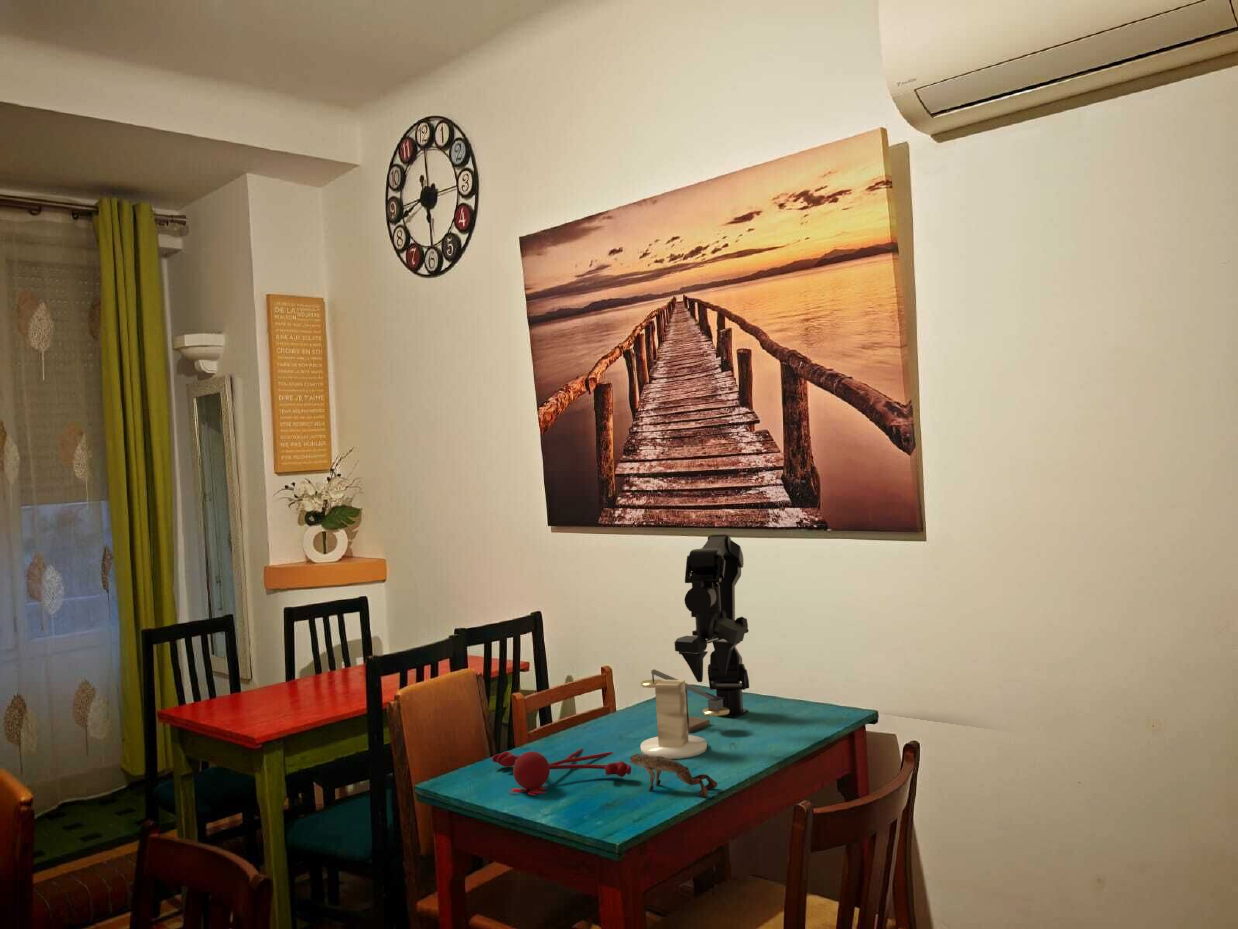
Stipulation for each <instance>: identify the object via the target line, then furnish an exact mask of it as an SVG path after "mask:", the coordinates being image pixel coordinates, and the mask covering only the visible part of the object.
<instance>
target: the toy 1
mask: <svg viewBox="0 0 1238 929" xmlns="http://www.w3.org/2000/svg"><path fill="white" fill-rule="evenodd" d="M583 751H584V748H580V749H578V750H576V751H574V752H572V753H571V754H570V755H568V756H567V757H566V758H565V759H564V758H563V759H561V760H558V761H554V762H551V763H549V761H548V759H547V758H546V757H545V756H544V755H543V754H542V753H540V752H537V751H526V752H524V753H522V754H520V755H515V754H512V753H511V752H509V751H503V752H502V753H496V754H494V755H493V756H492V762H493V763H498V764H499V765H501V766H502V767H513V769H512V774H513V778H514V780H515V782H516V783H517V784H518V785H519V786H520V787H522V788H516V787H515V788H514V787H513V788H511V789H512V790H508V792H509V793H515V794H516V793H522V792H523V793H524V792H528V793H527V794H528V795H530V796H535V795H540V794H546V793H547V792H546V791H543V790H546V789H548V787H546V786H544V785H545V784H546V782H547V781H548V778H549V777H550V770H567V769H569V770H570V769H571V770H572V769H573V770H575V769H582V770H585V769H593V770H594V769H595V770H596V769H597V770H604V773H605V775H607V776H610V775H612V776H613V775H617V776H619V777H621V778H624V777H625V775H631V773H632V766H631V765H630V764H628V763H626V762H625V761H618V762H609V763H607V764H597V763H595V764H593V763H591V764H590V763H589V764H585V763H584V764H582V763H581V764H569V763H577V762H583V761H588V760H594V759H600V758H603V757H607V756H609V754H610V755H612V754H614V753H613V752H612V751H608V752H602V753H596V754H590V755H585V756H578V755H579V754H581V753H582V752H583ZM576 756H578V757H576ZM528 790H529V791H528Z"/></svg>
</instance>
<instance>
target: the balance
mask: <svg viewBox="0 0 1238 929" xmlns="http://www.w3.org/2000/svg"><path fill="white" fill-rule="evenodd" d="M651 674H652V675H651V676H652V678H651V679H645V680H642V681H641V682H640V687H642V688H648V689H650V688H654V689H655V684H657V683H658V682H660V681H661V680H679V679H678V678H676V677H673V676H671V675H669V674H666V673H664V672H662V671H660V670H658V669H651ZM655 676H656V677H658V679H657V678H655ZM688 691H690V692H693V693H695V694H697V695H700V696H701V697H703V698H706V699H708V700H707V705H708V706H707V707H706V708H704V709H702V715H704V716H708V717H724V716H723V715H727V714H729V709H728V708H725V707H723V699H720V698H717V696H716V695H714V694H712V693H709V692H707V691H705V690H703V689H700V688H698V687H695V686H693V685H691V684H689V683H687V682H685V692H686V708H687V725H688V734H690V733H693V732H695V731H698V730H699V729H702V728H704V727H707V726H710V725H711V719H710V718H704V717H699V716H698V717H697V716H696V717H695V716H690V715H689V702H688Z"/></svg>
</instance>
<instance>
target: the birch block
mask: <svg viewBox="0 0 1238 929" xmlns="http://www.w3.org/2000/svg"><path fill="white" fill-rule="evenodd" d="M660 680H661V681H660V682H658V683H657V684H655V688H654V691H655V692H654V693H655V694H654V695H655V708H656V709H655V710H656V723H657V726H656V727H657V737H658V744H659V746H662V747H682V746H683V745H684V744H686V743H687V742H688V735H689V733H688V725H687V708H686V692H685V683H686V679H685V680H684V679H678V680H665V679H660Z"/></svg>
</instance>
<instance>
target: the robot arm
mask: <svg viewBox="0 0 1238 929" xmlns="http://www.w3.org/2000/svg"><path fill="white" fill-rule="evenodd" d="M742 568H744V554H743V551H742V548H741V546H740V545H739V543H736V542H735V541H733V540H732V538H731V536H730V535H729V534H726V533H720V534H719V533H718V534H711V535H708V537H707V541H706V542H705V544H704V545H703V546H702V547H701V548H694V549H692V550H691V551H690V552H689V554H688V555H687V556H686V565H685V572H684V573H685V574H684V575H685V576H684V583H685V584H691V588H690V589H689V590H687V592H686V594H685V596H684V605H685V607H686V609H687V610H688V611H689V612H690V616H691V617H690V618H695V619H694V620H695V630H692V631H691V632H692V635H684V636H681V637H677V638H676V639H675V641H674V642H673V643H674V651H675V652H678V654H679V655H681V656H682V658H683V659H684V661H685V662H686V664H687V665H688V667H689V669H690V671H691V672H692V674H693V676H694V678H695V680H696V683H697V682H698V683H703V679H704V658H705V657H706V656H707V654H708V652H709V651H707V647H708V644H711V643H712V645H713V649H714V650H713V651H711V653H710V655H709V663H708V664H707V676H708V677H707V678H708V685H709V690H710V691H711V690H712V691H713V690H715V691H716V692H715V693H716V695H715V696H717V698H720V699H723V707H725V708H728V709H729V714H727V715H723V716H722V717H726V718H737V717H740V716H742V715H744V714H746V713H749V712H750V711H749V709H748V708H747V709H746V708H744V705H743V704H744V703H743V691H746V690H747V689H750V679H749V675H748V670H747V669H746V666H745V663H743V657H742V656H741V654H740V652H739V650H738V649H737V645H738V644H741V642H743V641H744V638H745V634H747V633H748V634H749V624H748V619H747V618H746V617H743V616H740V617H737V618H736V596H735V595H736V594H735V593H736V592H735V591H736V584H737V583H738V581H739V579H740V578H741V576H742Z"/></svg>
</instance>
